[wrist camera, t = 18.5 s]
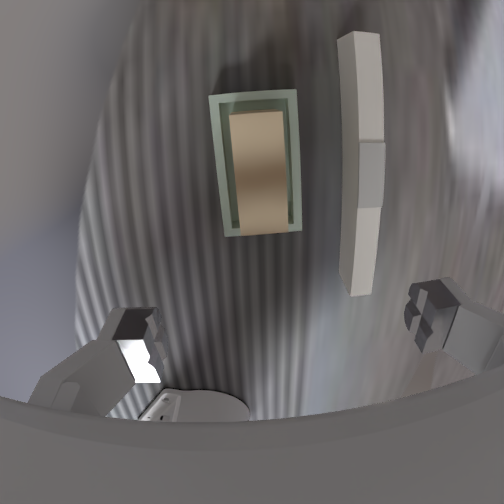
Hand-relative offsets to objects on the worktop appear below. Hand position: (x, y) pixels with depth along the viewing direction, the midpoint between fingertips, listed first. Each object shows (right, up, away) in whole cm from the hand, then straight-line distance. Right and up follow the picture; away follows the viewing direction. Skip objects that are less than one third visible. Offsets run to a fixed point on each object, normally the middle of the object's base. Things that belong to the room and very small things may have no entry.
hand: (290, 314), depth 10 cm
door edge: (+9, +11, +21) cm, 25 cm away
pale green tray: (-1, +11, +21) cm, 23 cm away
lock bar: (-1, +11, +20) cm, 23 cm away
